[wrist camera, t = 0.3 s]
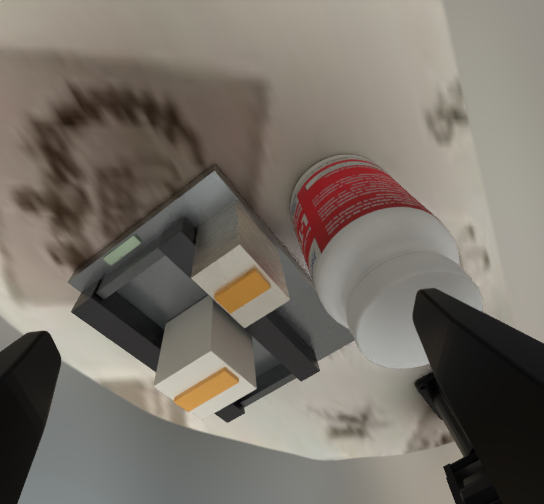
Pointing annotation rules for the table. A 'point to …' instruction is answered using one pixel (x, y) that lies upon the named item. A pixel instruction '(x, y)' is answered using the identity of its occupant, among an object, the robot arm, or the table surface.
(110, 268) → the grey desk organizer
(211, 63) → the table surface
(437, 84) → the table surface
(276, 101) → the table surface
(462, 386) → the robot arm
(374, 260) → the pill bottle
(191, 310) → the block
